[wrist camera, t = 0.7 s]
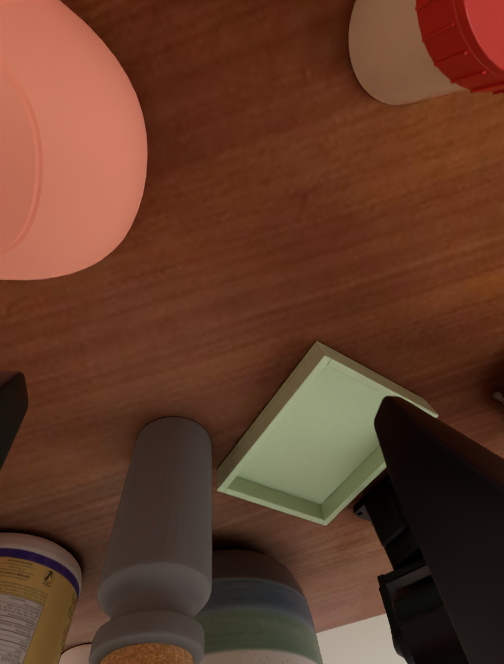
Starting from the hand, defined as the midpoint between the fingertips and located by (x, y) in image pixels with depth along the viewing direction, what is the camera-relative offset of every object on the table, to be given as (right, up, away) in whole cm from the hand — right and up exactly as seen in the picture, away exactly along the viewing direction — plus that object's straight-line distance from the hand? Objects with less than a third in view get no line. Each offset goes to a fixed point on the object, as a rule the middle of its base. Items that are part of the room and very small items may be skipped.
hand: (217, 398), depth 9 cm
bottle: (-5, -7, +19) cm, 21 cm away
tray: (+6, -7, +20) cm, 22 cm away
